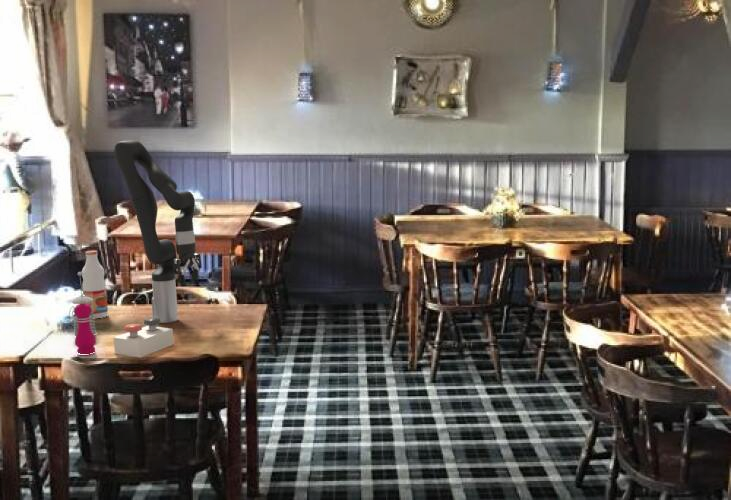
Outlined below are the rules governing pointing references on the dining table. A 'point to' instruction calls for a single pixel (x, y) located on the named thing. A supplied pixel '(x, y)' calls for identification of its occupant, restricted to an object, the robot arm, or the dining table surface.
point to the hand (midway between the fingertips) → (189, 282)
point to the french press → (76, 301)
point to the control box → (143, 342)
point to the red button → (133, 329)
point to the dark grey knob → (152, 323)
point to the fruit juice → (95, 285)
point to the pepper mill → (84, 329)
